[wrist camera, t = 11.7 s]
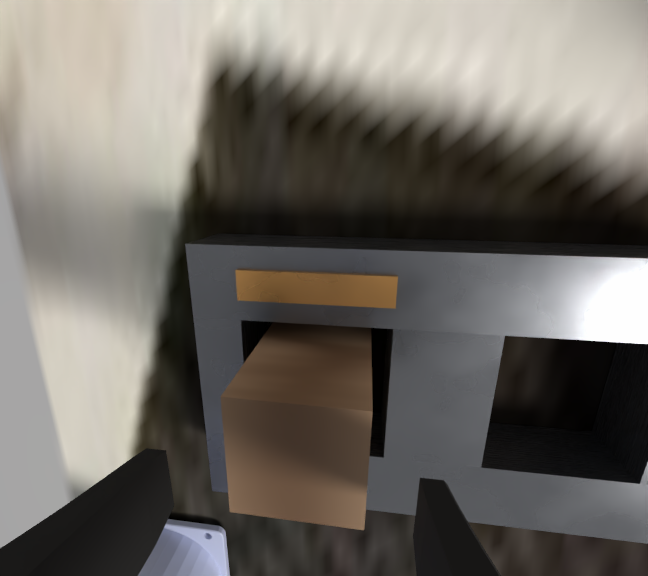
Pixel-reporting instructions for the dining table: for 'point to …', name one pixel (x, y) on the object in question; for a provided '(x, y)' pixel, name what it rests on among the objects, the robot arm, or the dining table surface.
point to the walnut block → (301, 425)
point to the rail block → (451, 363)
